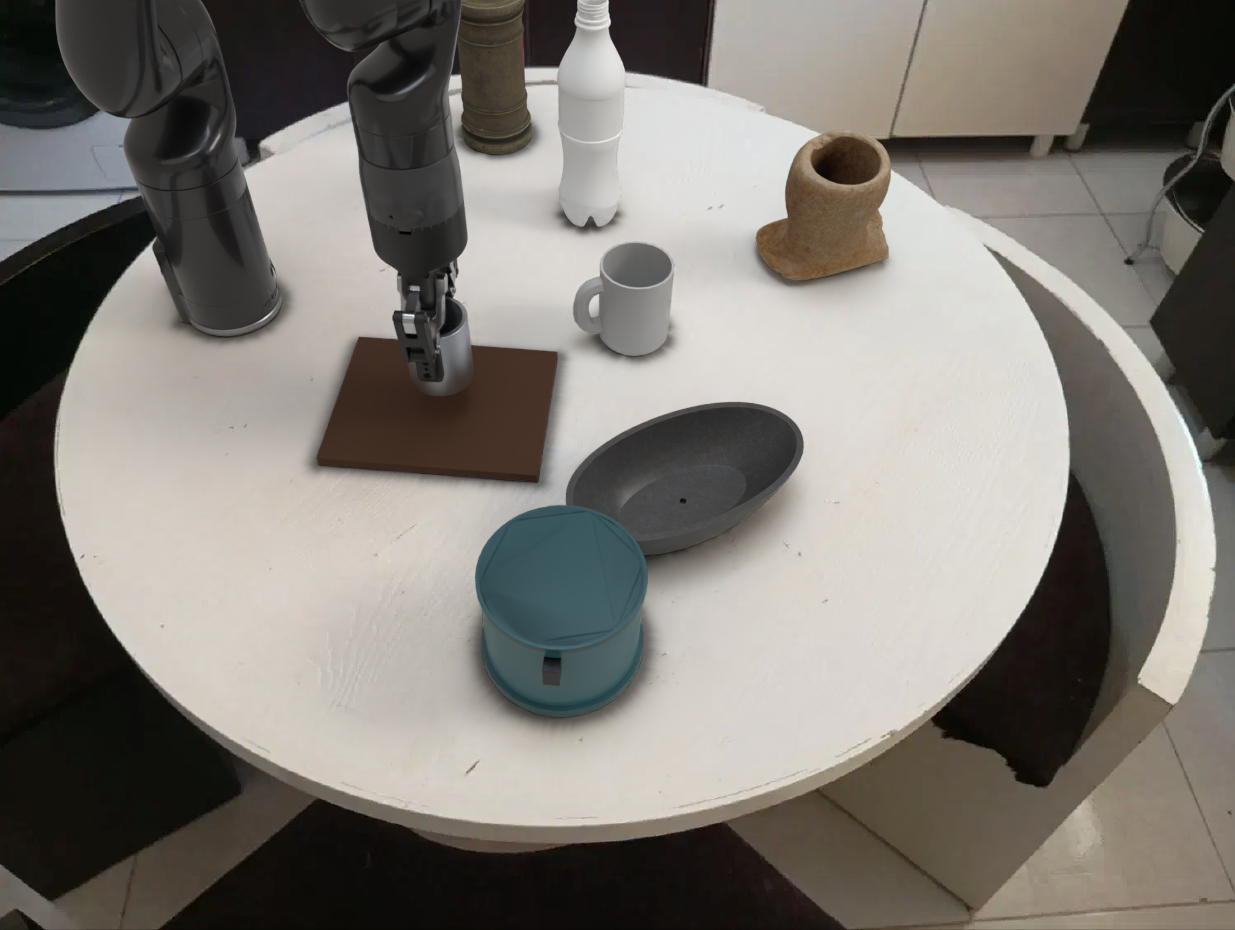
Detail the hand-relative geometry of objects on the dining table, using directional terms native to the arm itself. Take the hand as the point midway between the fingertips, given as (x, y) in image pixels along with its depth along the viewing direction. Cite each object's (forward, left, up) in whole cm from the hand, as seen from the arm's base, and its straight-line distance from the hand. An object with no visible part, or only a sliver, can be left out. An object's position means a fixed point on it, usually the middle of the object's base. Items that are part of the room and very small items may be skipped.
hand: (438, 353), depth 89 cm
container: (-2, +47, -7) cm, 48 cm away
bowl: (+23, -10, -7) cm, 26 cm away
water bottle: (+11, +32, -7) cm, 34 cm away
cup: (+16, +12, -7) cm, 21 cm away
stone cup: (+38, +27, -7) cm, 47 cm away
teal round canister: (+14, -24, -7) cm, 29 cm away
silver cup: (0, 0, -3) cm, 3 cm away
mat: (0, 0, -7) cm, 7 cm away
